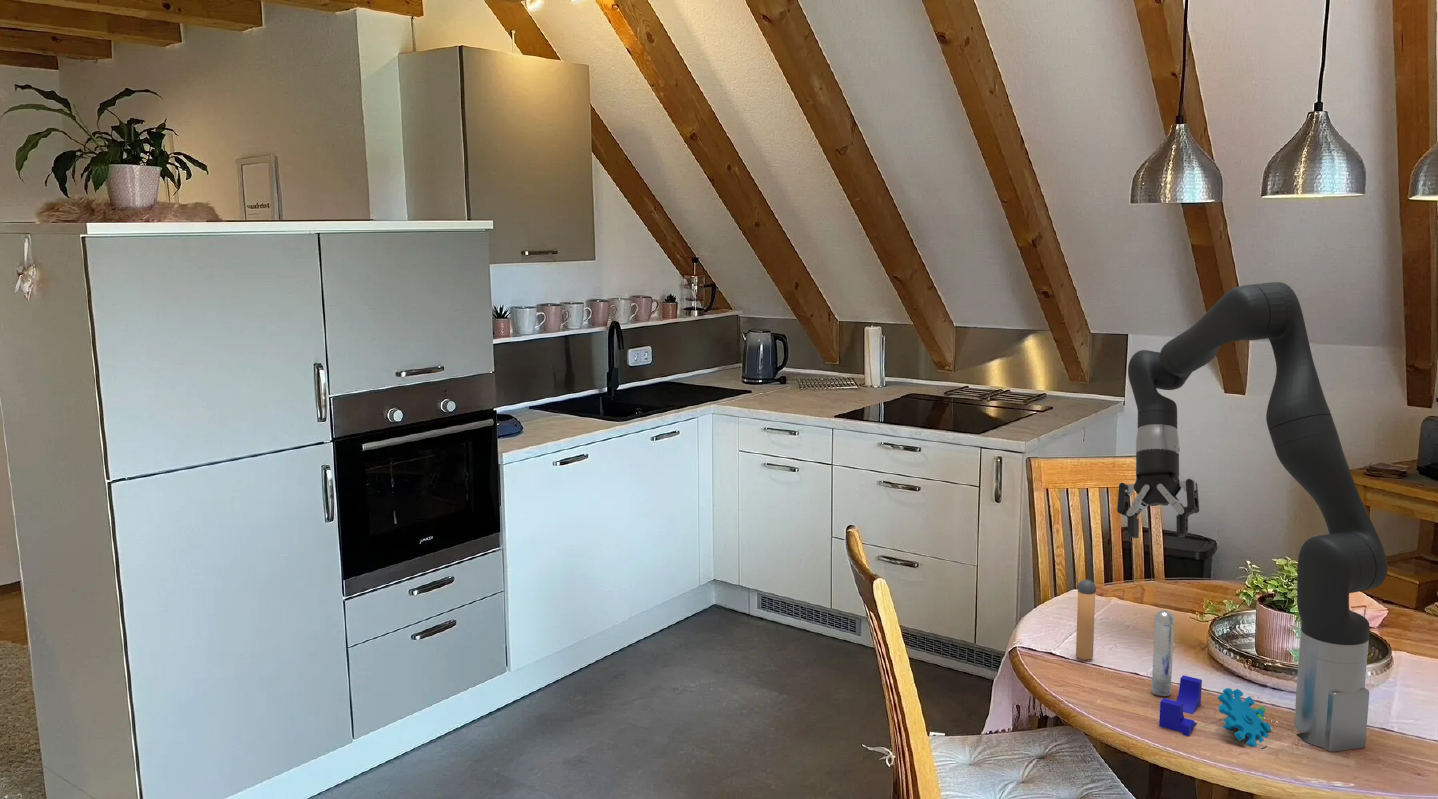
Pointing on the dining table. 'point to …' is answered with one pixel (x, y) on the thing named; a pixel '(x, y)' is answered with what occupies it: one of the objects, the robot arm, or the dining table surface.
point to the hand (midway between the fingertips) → (1157, 537)
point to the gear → (1243, 717)
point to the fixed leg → (1163, 653)
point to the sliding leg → (1085, 619)
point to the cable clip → (1181, 706)
